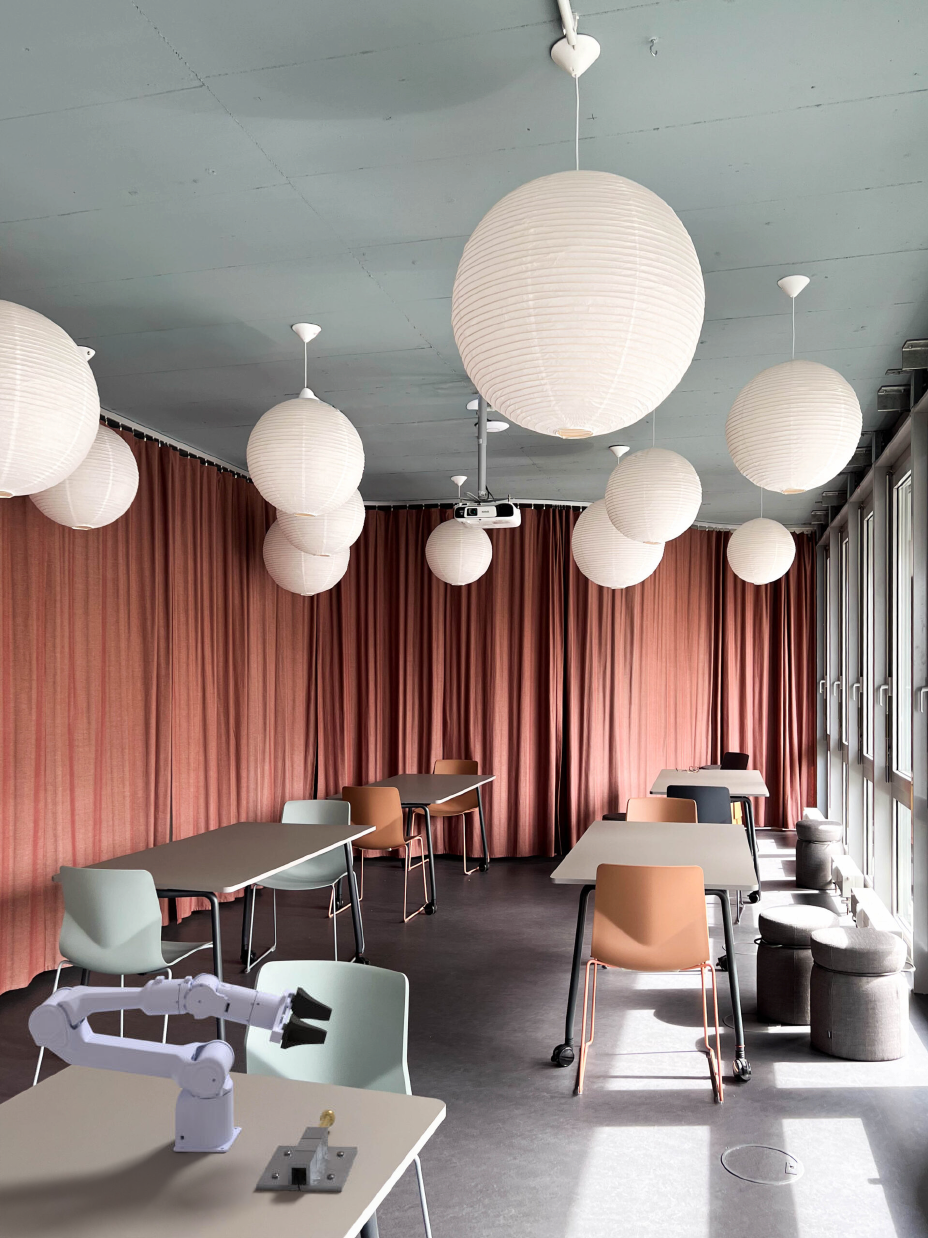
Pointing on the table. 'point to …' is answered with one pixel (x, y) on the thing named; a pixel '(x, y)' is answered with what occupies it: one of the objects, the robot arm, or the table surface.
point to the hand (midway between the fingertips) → (328, 1026)
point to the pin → (327, 1119)
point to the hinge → (308, 1164)
